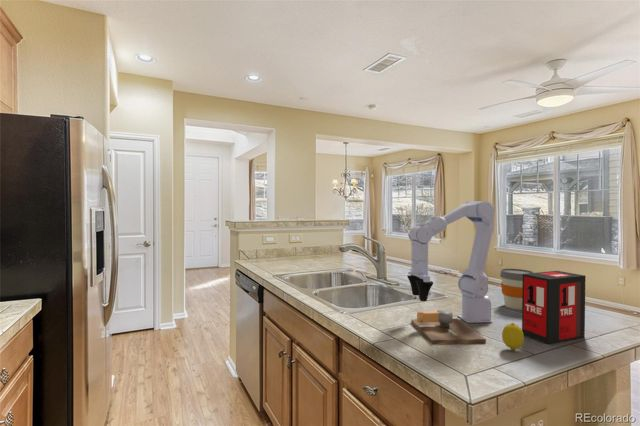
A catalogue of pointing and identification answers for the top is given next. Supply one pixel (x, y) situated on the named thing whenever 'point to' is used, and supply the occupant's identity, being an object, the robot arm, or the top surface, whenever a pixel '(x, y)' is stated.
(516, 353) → the top surface
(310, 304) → the top surface
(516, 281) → the reusable coffee cup
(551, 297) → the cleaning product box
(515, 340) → the lemon
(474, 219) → the robot arm
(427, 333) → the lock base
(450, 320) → the orange and grey bar
